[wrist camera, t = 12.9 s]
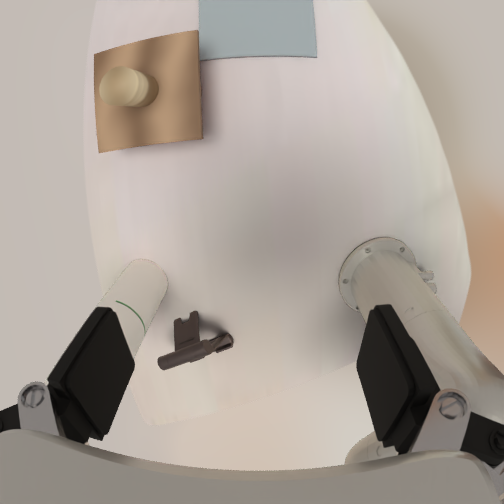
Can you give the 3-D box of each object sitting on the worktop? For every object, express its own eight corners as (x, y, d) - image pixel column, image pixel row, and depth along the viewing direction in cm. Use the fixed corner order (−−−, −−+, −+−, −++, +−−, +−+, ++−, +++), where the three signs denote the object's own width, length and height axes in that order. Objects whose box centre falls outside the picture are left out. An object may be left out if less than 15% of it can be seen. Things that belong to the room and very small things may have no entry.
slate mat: (308, -29, 23) (308, -31, 22) (316, 57, 29) (317, 56, 28) (199, -26, 23) (199, -27, 23) (200, 60, 29) (199, 60, 29)
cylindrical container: (121, 258, 41) (27, 379, 18) (164, 259, 41) (86, 399, 18) (129, 298, 44) (58, 422, 21) (170, 301, 44) (114, 440, 21)
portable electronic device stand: (192, 355, 49) (183, 390, 41) (164, 324, 46) (150, 359, 38) (234, 338, 47) (229, 376, 39) (206, 304, 44) (197, 341, 36)
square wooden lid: (199, 32, 23) (183, 10, 17) (203, 138, 28) (187, 143, 22) (97, 55, 23) (64, 45, 17) (102, 152, 28) (68, 162, 22)
